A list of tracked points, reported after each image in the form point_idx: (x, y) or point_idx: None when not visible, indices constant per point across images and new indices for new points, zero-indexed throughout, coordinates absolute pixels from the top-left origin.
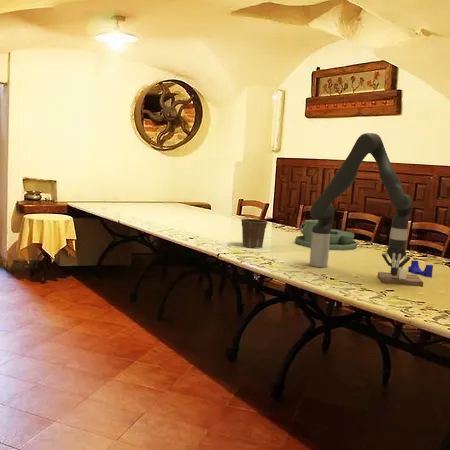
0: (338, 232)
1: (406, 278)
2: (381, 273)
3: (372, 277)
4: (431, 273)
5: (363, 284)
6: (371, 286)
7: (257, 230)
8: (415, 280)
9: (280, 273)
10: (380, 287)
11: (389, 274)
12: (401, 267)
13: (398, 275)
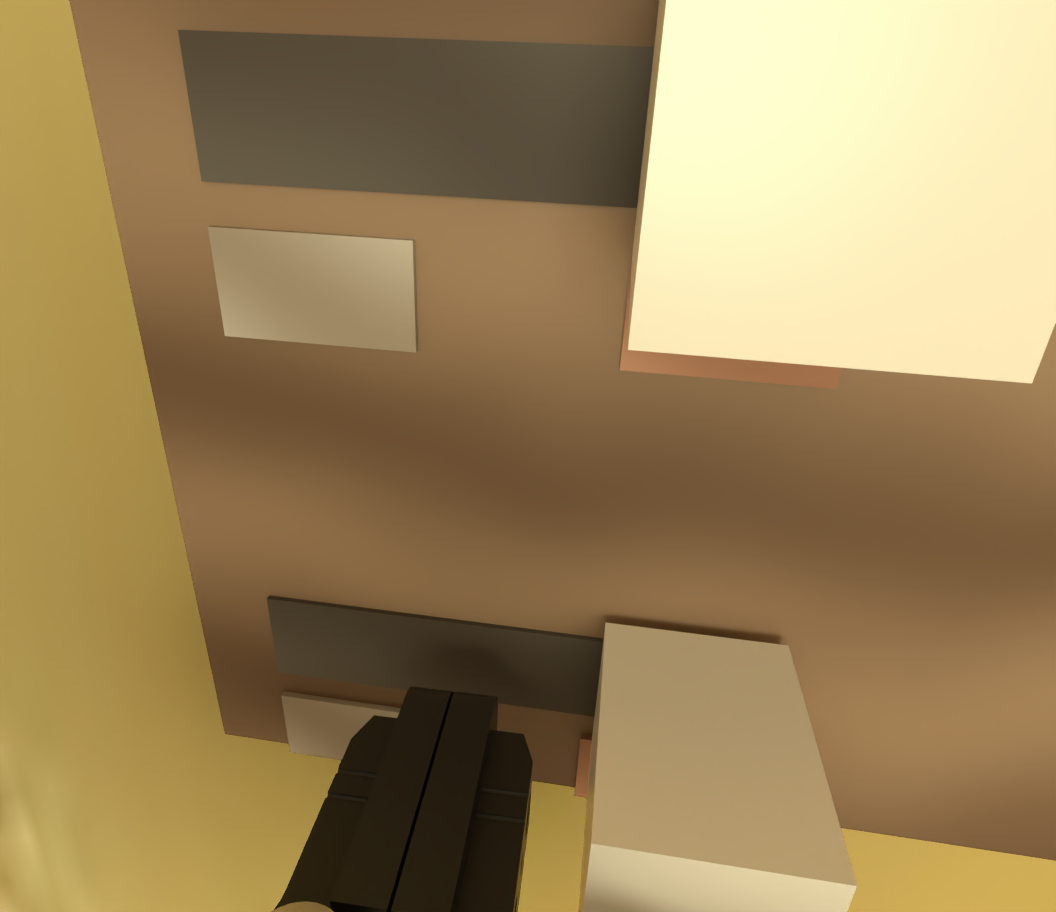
0: None
1: (843, 620)
2: (184, 145)
3: (47, 209)
4: None
5: (20, 799)
6: (137, 871)
7: None
8: (1009, 766)
9: None
10: (255, 899)
11: (438, 220)
12: (924, 366)
13: (599, 694)
